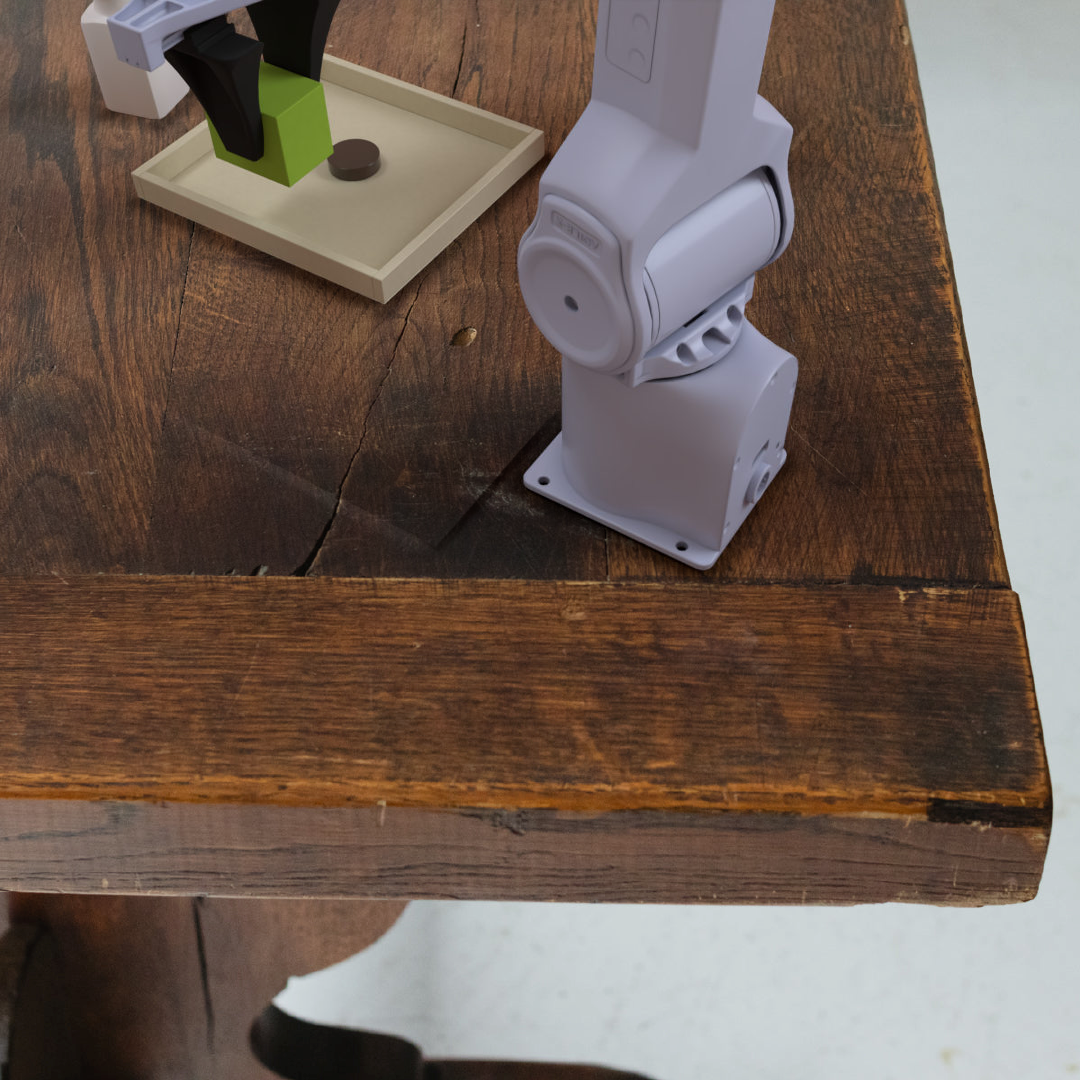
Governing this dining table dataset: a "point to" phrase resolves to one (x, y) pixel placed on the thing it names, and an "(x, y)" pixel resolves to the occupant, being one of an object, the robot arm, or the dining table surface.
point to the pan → (357, 183)
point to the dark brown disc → (354, 160)
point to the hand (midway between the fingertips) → (272, 132)
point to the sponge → (286, 127)
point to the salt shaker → (128, 70)
